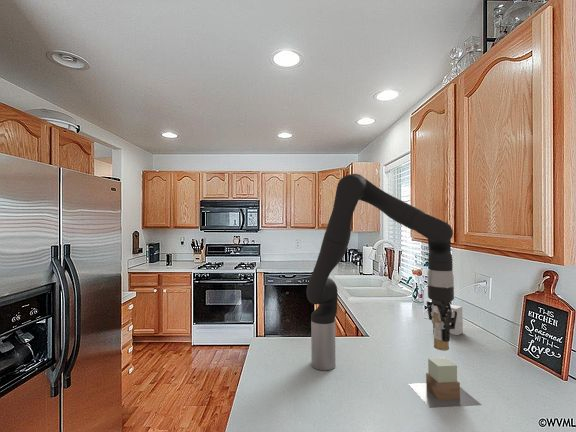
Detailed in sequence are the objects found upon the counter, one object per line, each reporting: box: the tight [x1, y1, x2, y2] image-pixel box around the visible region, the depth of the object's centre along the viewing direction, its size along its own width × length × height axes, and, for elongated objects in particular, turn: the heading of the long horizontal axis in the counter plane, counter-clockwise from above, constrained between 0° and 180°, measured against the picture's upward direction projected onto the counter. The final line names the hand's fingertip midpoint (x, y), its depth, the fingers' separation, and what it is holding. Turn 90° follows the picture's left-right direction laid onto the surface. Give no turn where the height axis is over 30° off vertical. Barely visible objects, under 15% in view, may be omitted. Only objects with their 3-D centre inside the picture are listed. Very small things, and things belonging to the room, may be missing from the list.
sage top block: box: [427, 357, 458, 383], centre depth 103 cm, size 6×6×5 cm
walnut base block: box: [425, 372, 461, 400], centre depth 103 cm, size 7×7×5 cm
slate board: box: [408, 382, 482, 409], centre depth 103 cm, size 14×16×1 cm
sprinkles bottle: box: [433, 305, 450, 352], centre depth 103 cm, size 5×5×13 cm
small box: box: [450, 304, 464, 336], centre depth 163 cm, size 8×6×13 cm
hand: (441, 338), depth 103 cm, fingers closed on sprinkles bottle, 4 cm apart
